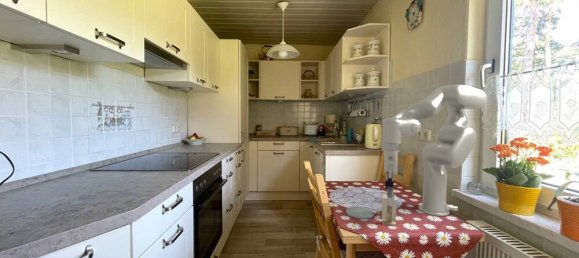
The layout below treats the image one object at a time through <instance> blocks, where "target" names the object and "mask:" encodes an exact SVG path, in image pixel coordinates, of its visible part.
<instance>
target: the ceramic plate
mask: <svg viewBox="0 0 579 258" xmlns="http://www.w3.org/2000/svg"><path fill="white" fill-rule="evenodd" d="M345 214H346V215H347V216H348V217H350V218H353V219H358V220H370V219H373V218H374V217H375V212H374V211H373V210H372V209H371V208H367V207H364V206H349V207H347V208H346V209H345Z"/></svg>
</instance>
